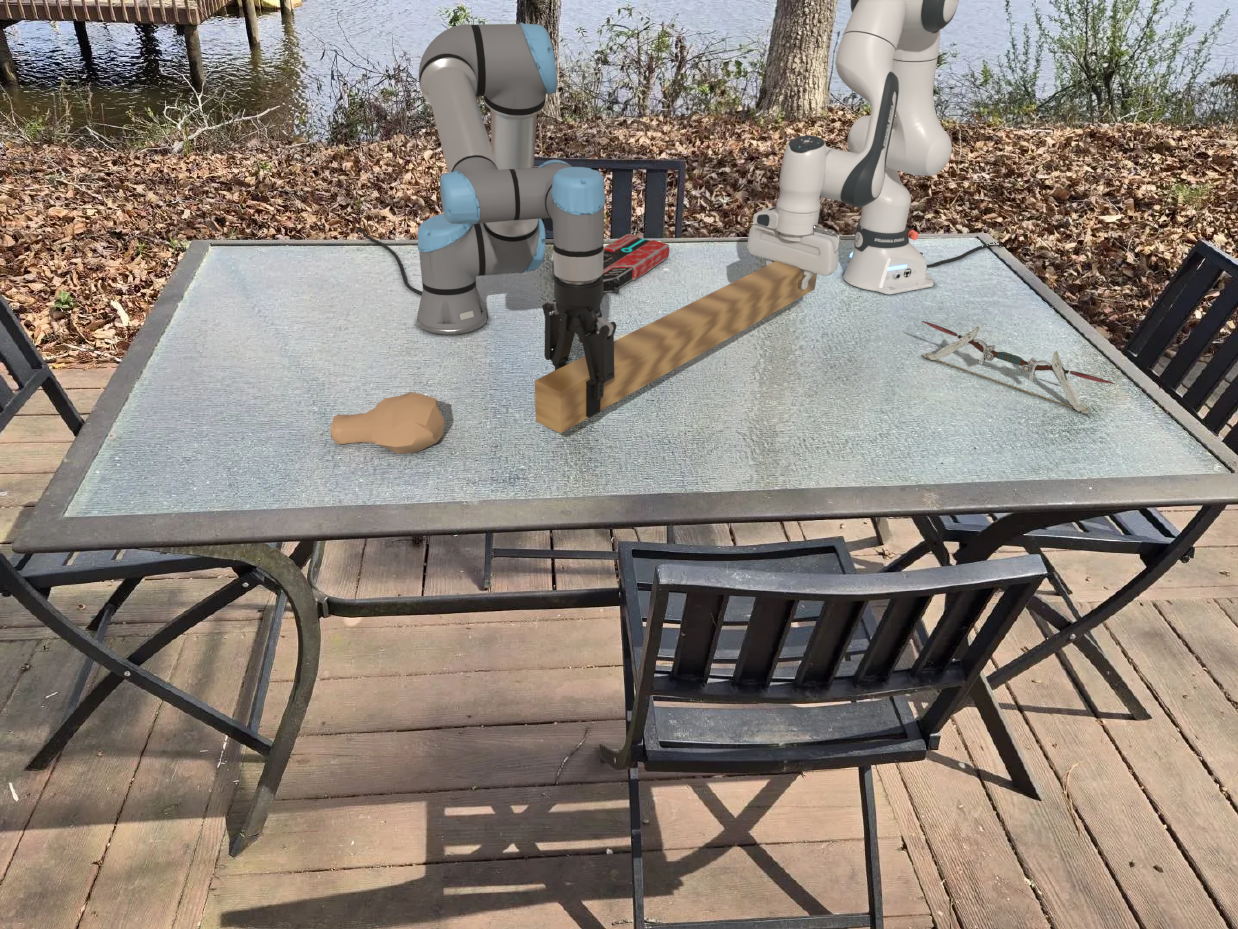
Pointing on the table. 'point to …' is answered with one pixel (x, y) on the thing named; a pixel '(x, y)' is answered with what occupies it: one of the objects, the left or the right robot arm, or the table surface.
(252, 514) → the table surface
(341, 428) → the squash
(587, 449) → the table surface
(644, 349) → the bar
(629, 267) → the gun
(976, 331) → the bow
